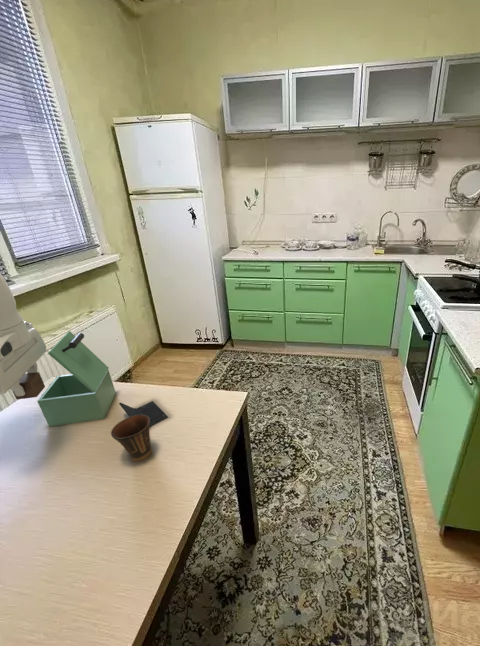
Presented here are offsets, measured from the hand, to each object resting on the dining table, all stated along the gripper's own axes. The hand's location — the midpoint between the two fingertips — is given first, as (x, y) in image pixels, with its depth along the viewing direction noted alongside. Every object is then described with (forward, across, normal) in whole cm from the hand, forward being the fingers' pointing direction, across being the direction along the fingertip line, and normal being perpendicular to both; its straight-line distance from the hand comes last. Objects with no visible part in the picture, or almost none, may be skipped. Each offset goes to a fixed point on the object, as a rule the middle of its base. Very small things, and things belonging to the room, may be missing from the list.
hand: (28, 387), depth 79 cm
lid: (+1, -13, +7) cm, 15 cm away
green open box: (+18, -13, +4) cm, 22 cm away
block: (+2, 0, 0) cm, 2 cm away
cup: (+18, +9, +24) cm, 31 cm away
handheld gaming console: (+18, -5, +22) cm, 29 cm away
